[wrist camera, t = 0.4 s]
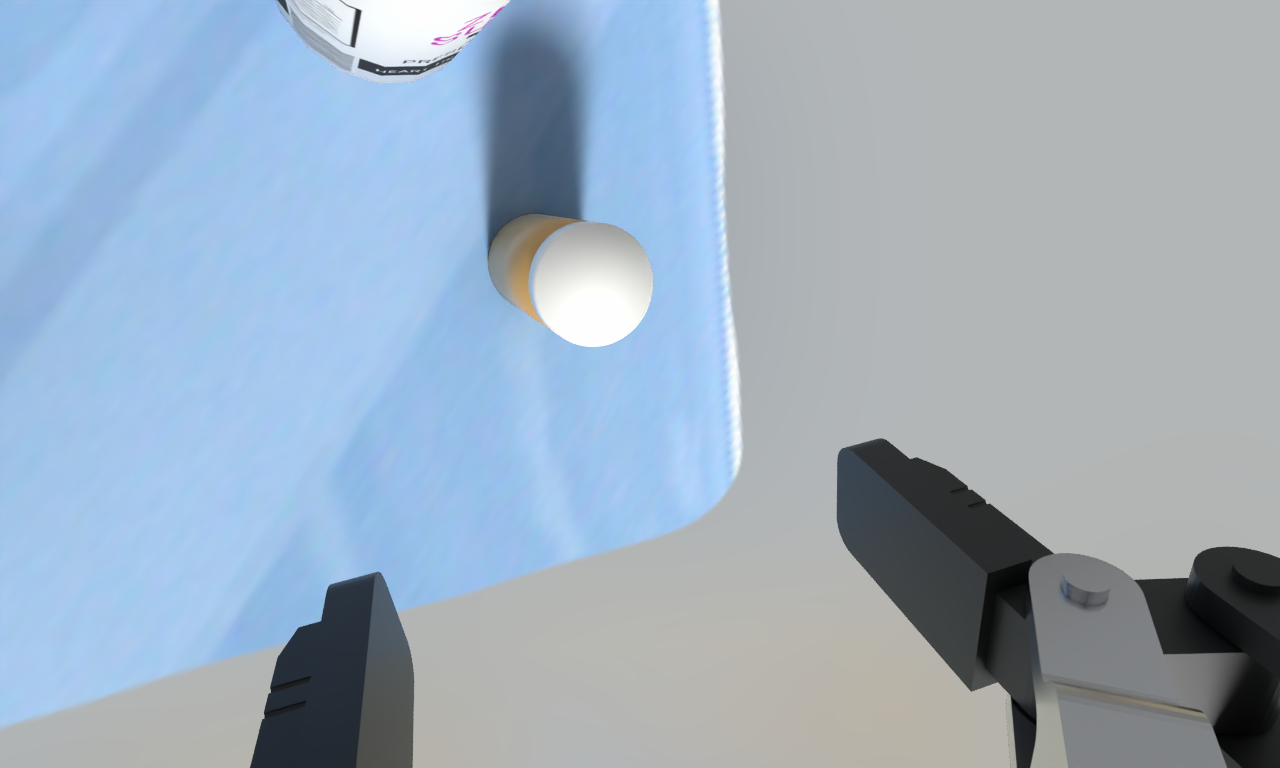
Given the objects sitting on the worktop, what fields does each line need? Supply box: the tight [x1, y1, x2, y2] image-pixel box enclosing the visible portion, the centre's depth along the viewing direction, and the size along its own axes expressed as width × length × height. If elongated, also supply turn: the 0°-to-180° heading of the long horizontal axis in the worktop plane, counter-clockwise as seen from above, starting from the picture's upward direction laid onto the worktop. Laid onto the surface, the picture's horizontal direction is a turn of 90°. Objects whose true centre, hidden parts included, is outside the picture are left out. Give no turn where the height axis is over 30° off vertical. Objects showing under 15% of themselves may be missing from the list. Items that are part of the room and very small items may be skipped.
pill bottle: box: [488, 214, 653, 347], centre depth 31 cm, size 5×5×9 cm
